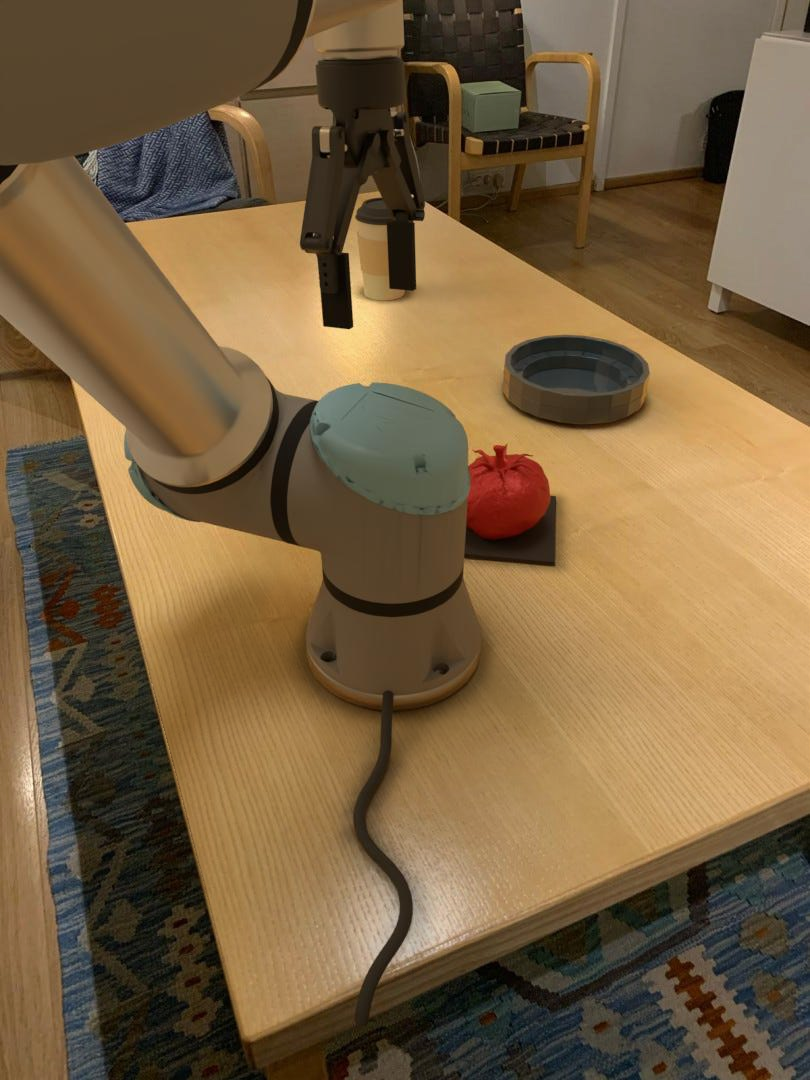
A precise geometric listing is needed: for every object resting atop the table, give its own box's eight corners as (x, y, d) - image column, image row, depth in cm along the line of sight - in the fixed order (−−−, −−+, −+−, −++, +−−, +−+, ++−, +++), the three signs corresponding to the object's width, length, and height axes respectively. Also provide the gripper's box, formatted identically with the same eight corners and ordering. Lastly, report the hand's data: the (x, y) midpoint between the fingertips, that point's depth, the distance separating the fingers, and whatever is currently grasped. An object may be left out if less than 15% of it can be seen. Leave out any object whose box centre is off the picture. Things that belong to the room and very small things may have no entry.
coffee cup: (347, 297, 145) (343, 203, 136) (374, 280, 152) (372, 190, 143) (395, 306, 142) (394, 211, 133) (420, 288, 148) (421, 197, 140)
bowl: (648, 433, 108) (654, 400, 106) (498, 422, 111) (501, 390, 108) (638, 369, 123) (643, 339, 121) (506, 360, 125) (508, 331, 123)
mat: (554, 566, 87) (555, 562, 87) (434, 555, 88) (434, 551, 88) (555, 499, 96) (556, 496, 96) (447, 490, 98) (447, 487, 98)
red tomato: (563, 537, 90) (573, 459, 84) (474, 558, 87) (479, 479, 81) (518, 488, 97) (525, 414, 92) (436, 506, 94) (438, 430, 89)
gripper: (385, 50, 85) (394, 273, 95) (237, 63, 65) (269, 341, 76) (457, 48, 82) (457, 278, 92) (324, 62, 62) (344, 350, 73)
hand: (372, 307), depth 84 cm, fingers open, 13 cm apart
